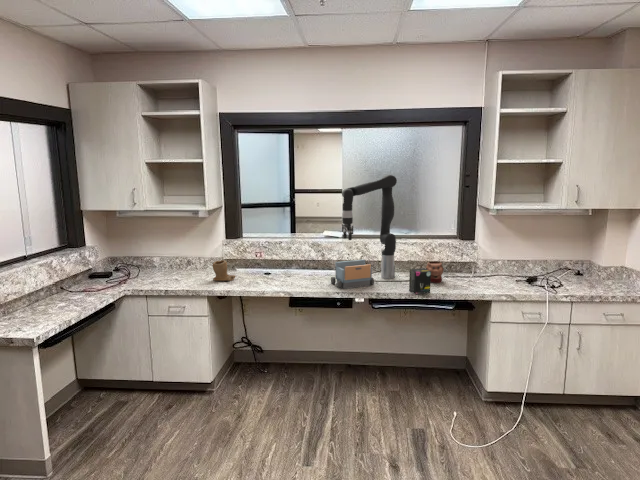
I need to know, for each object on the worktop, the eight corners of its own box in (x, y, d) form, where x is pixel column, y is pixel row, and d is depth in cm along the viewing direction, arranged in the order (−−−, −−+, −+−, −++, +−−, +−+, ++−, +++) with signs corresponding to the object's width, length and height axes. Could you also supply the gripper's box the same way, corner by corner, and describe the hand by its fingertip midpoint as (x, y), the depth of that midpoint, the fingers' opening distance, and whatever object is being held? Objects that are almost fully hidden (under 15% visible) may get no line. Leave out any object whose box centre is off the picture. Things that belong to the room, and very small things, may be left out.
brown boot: (210, 282, 300) (209, 262, 298) (216, 278, 312) (215, 258, 309) (230, 283, 298) (229, 262, 295) (236, 278, 309) (235, 259, 307)
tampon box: (415, 294, 266) (416, 272, 263) (408, 290, 274) (409, 269, 272) (430, 293, 269) (431, 271, 266) (423, 289, 277) (424, 267, 275)
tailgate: (369, 277, 286) (369, 264, 284) (370, 277, 284) (371, 264, 282) (344, 279, 279) (344, 266, 278) (345, 280, 278) (346, 267, 276)
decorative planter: (422, 277, 308) (423, 258, 305) (439, 277, 307) (440, 258, 305) (428, 284, 288) (429, 265, 286) (446, 284, 287) (447, 265, 285)
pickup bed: (363, 279, 304) (363, 257, 301) (374, 285, 288) (374, 262, 285) (330, 282, 295) (330, 260, 292) (339, 289, 279) (339, 266, 277)
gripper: (356, 217, 292) (356, 240, 295) (348, 215, 305) (348, 237, 308) (346, 218, 289) (346, 241, 292) (338, 216, 302) (338, 238, 305)
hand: (347, 239), depth 300 cm, fingers open, 8 cm apart
